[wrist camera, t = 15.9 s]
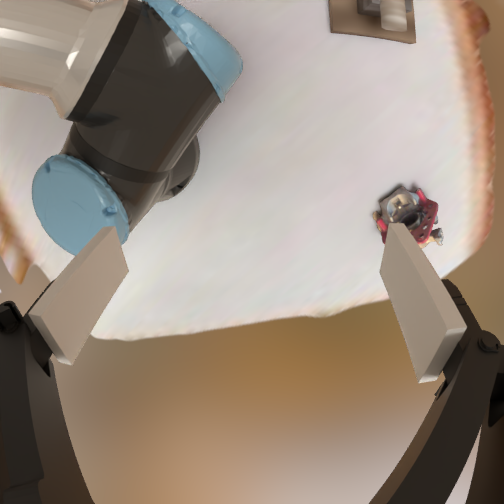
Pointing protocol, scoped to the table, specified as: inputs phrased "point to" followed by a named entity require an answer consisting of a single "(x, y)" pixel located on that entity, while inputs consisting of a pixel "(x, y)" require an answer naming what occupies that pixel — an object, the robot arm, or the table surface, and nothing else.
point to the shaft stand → (374, 19)
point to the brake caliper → (410, 216)
